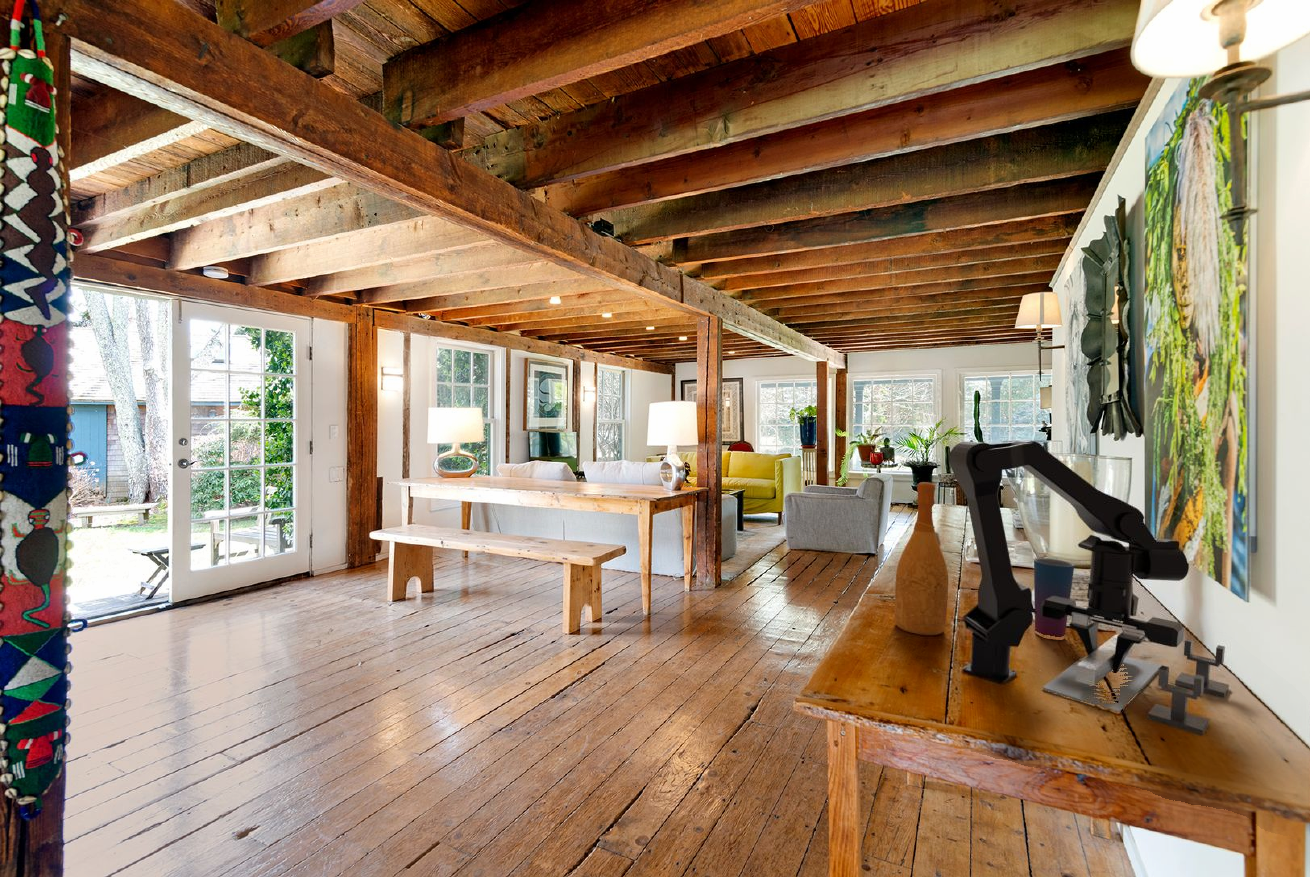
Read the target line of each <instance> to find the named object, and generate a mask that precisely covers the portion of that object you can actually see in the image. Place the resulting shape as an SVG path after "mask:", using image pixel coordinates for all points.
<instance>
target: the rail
mask: <svg viewBox="0 0 1310 877" xmlns="http://www.w3.org/2000/svg"><path fill="white" fill-rule="evenodd" d="M1118 635H1119V634H1114V635H1113V636H1112V637H1111V638H1109V639H1108V640H1106V641H1105V642H1103V643H1102V645H1100V646H1098V648H1097V649H1096V650H1095V651H1094V652H1092V653H1091V654H1090V655H1088V656H1087V657H1086V658H1084V659H1083V660H1082V661H1081V662H1079V663H1078V664H1077V665H1076V679H1075V680H1076V681H1079V682H1083V683H1086V684H1089V685H1093V686H1095V685H1096V684H1097V683H1098V682H1099V681H1100V680H1102V679H1103V678H1104V677H1105V676H1106V675H1107V674H1108V673H1109V672H1110V671H1112V670H1113V662H1114V655H1115V649H1116V642H1117V636H1118ZM1132 653H1133V646H1132V647H1131V648H1130V650H1129V651H1128V653H1127V655H1126V657H1129V656H1130V655H1131V654H1132ZM1126 657H1125V658H1126Z"/></svg>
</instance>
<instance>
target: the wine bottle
mask: <svg viewBox="0 0 1310 877" xmlns="http://www.w3.org/2000/svg"><path fill="white" fill-rule="evenodd" d="M916 489H917V497H916V504H917V505H918V506H917V516H916V521H915V523H914V527H913V532H912V534H911V536H910V538H909V540H907V543H906V545H905V547H904V549H903V550H902V552H901V554H900V558H899V560H898V564H897V566H896V567H897V568H896V571H895V572H896V573H895V586H894V622H895V625H896V626H897V627H898V628H900V629H901V630H903V631H906V632H908V633H912V634H915V635H921V636H937V635H941V634H942V633H943V632H944V631H945V629H946V621H947V614H948V613H947V611H948V600H949V599H948V597H949V596H948V595H949V572H948V567H947V564H946V560H945V556H944V553H943V551H942V549H941V546H942V544H941V538H940V534H939V532H938V531H935V526H934V522H933V521H934V520H933V506H935V492H936V485H935V484H934V483H933V482H929V481H928V482H927V481H926V482H925V481H921V482H919V483H918V484H917V487H916Z"/></svg>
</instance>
